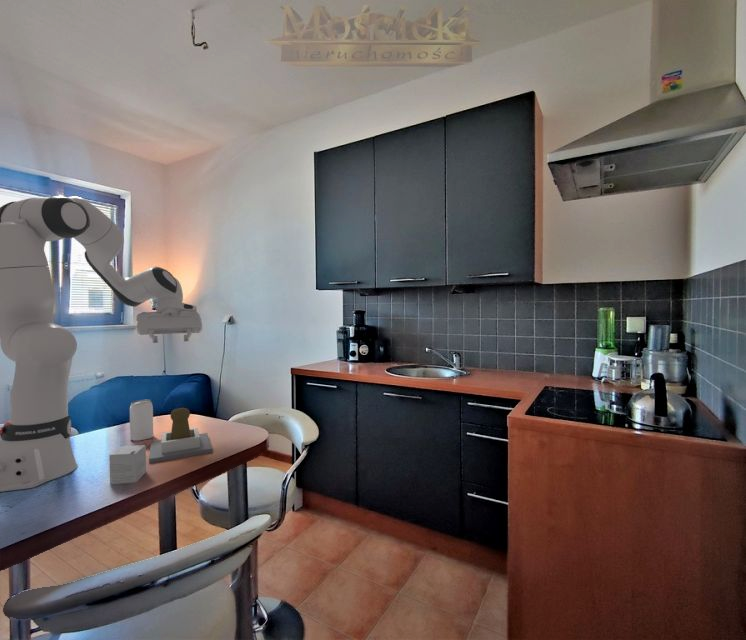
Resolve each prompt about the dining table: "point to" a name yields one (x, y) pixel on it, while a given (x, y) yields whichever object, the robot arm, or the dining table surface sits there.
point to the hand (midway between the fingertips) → (171, 341)
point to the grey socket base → (179, 446)
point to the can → (141, 420)
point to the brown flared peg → (180, 424)
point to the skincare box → (127, 464)
